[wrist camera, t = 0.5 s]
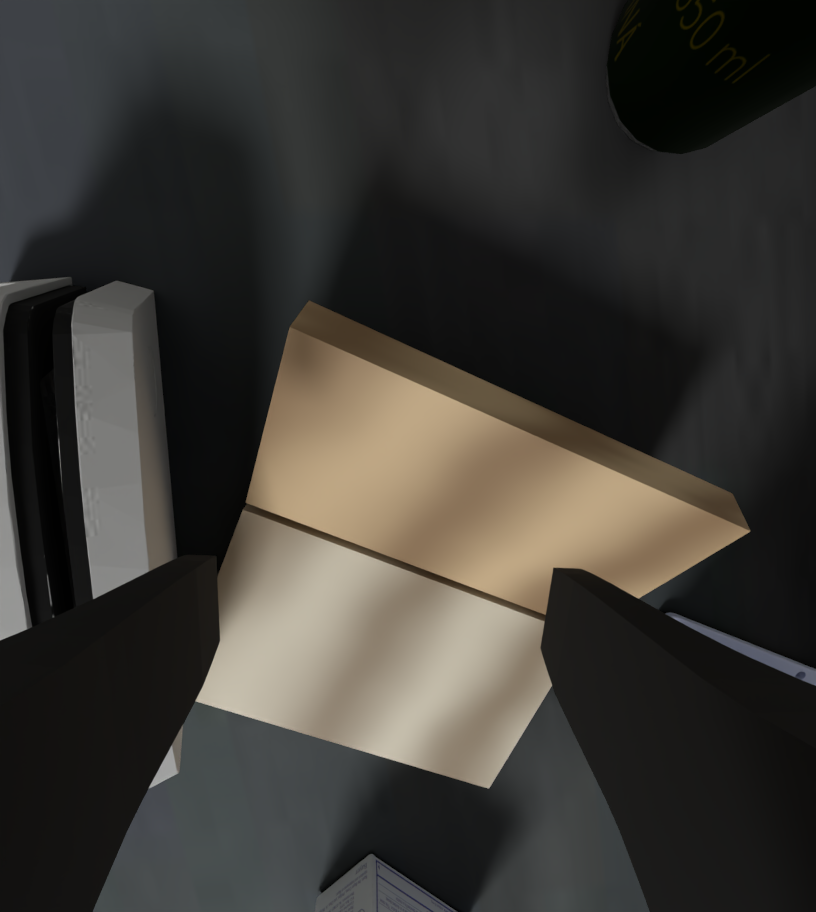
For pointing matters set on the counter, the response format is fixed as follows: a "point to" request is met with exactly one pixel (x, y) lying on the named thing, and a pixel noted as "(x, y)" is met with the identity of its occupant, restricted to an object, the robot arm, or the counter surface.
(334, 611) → the floor board
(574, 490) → the plank
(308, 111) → the counter surface
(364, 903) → the grey wood grain block
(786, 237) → the counter surface
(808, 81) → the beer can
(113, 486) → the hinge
